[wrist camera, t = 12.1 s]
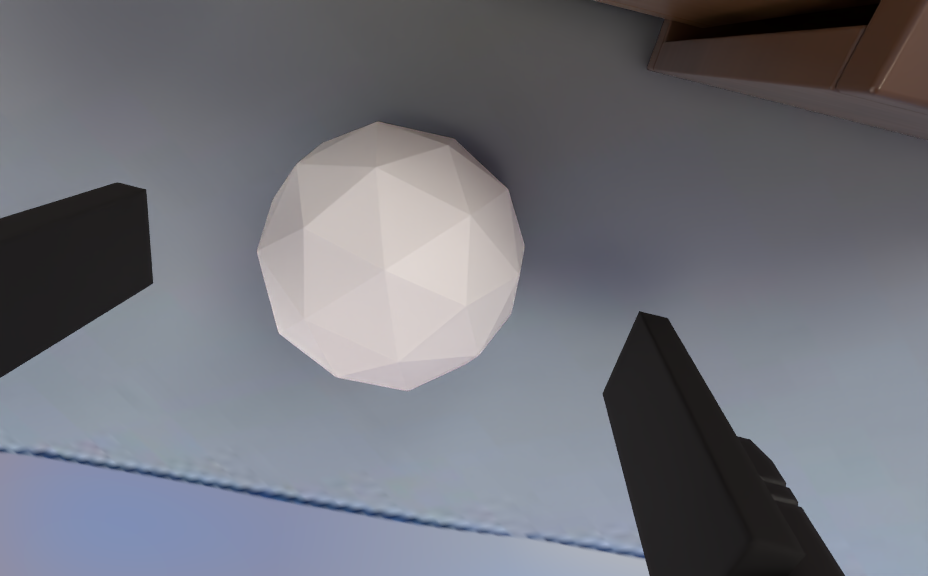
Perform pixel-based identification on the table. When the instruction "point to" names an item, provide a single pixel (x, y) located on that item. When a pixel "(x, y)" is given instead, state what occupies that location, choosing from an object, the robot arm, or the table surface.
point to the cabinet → (815, 61)
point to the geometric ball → (391, 256)
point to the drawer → (730, 9)
